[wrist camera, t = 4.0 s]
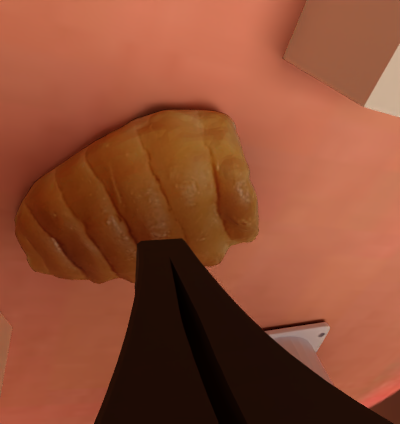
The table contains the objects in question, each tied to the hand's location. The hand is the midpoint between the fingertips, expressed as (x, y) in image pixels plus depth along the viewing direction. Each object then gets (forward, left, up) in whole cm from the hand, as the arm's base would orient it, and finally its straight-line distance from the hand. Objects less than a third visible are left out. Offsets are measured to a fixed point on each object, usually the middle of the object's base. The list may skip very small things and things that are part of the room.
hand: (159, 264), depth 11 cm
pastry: (-1, -1, -6) cm, 6 cm away
